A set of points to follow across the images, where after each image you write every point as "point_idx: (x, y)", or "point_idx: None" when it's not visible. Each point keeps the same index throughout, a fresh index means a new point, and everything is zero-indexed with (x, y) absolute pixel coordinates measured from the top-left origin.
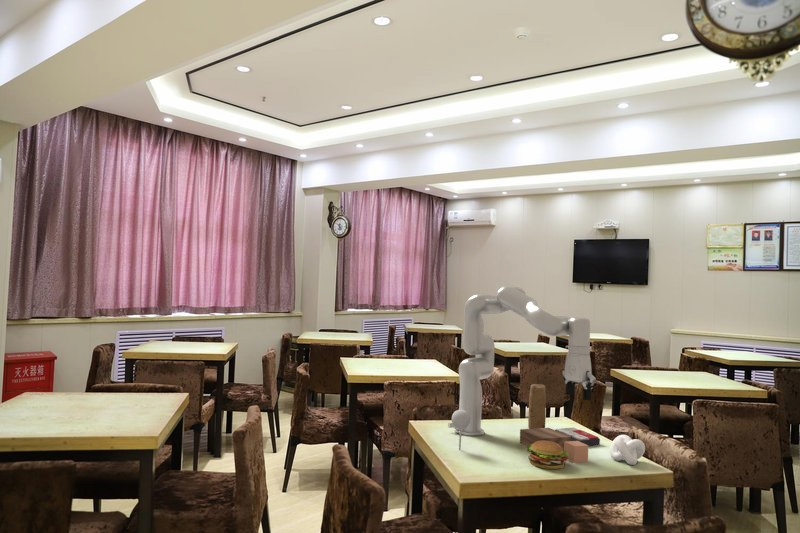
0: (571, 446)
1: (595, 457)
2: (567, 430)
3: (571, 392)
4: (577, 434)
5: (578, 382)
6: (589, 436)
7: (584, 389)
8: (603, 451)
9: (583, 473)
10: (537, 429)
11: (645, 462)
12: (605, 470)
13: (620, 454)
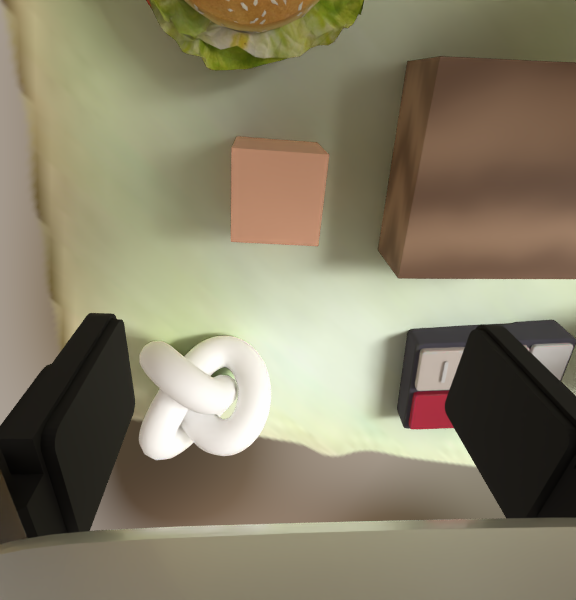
0: (261, 148)
1: (278, 292)
2: None
3: (465, 407)
4: None
5: (56, 535)
6: (429, 403)
7: (9, 441)
8: (331, 372)
9: (77, 49)
10: None
11: None
12: (114, 204)
13: (192, 354)
